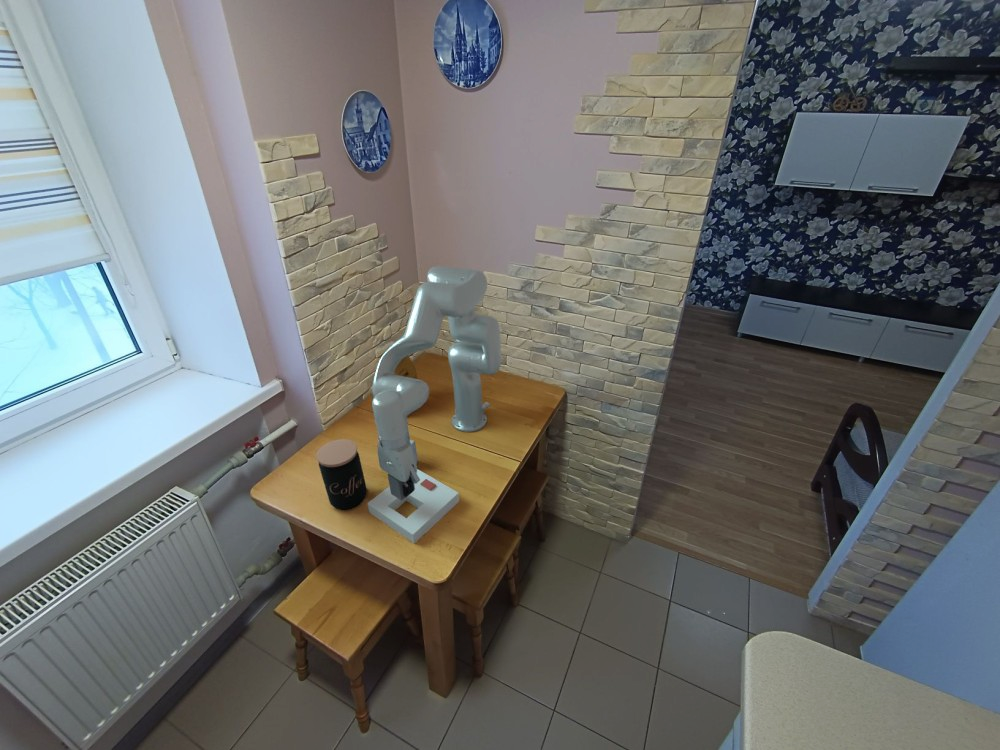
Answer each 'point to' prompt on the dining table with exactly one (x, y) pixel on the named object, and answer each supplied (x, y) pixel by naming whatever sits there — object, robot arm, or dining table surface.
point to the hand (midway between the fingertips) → (403, 489)
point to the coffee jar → (342, 474)
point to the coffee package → (406, 369)
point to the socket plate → (426, 497)
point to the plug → (396, 487)
